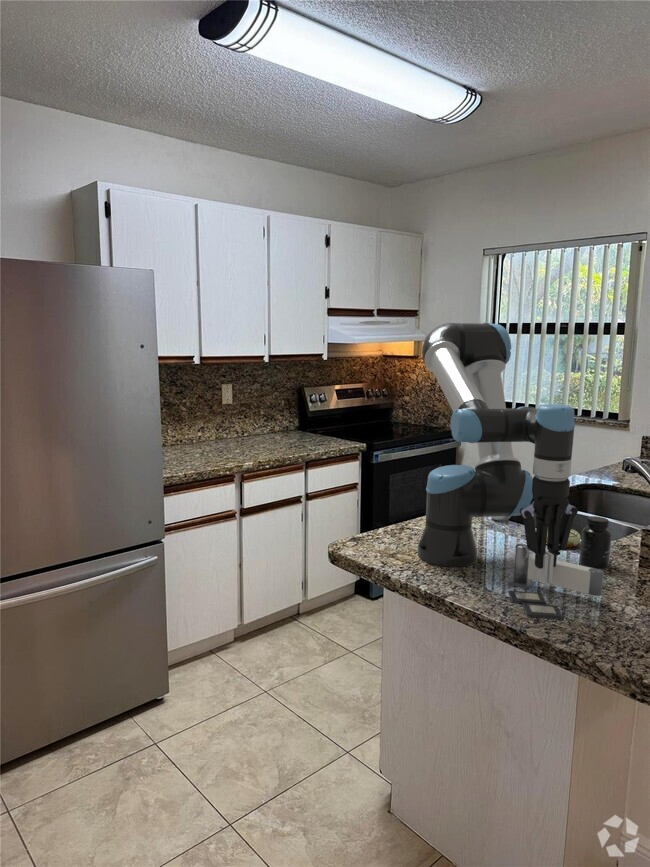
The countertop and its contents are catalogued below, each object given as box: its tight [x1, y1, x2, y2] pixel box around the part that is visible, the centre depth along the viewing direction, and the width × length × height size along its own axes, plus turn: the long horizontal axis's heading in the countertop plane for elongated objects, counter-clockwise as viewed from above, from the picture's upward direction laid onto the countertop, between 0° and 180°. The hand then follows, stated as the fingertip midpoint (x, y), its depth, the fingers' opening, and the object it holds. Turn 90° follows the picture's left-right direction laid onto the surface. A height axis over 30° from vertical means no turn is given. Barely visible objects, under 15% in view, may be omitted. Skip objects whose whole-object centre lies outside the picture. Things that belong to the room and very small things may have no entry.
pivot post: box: [506, 543, 534, 590], centre depth 140 cm, size 5×5×9 cm
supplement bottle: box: [579, 515, 613, 570], centre depth 151 cm, size 7×7×12 cm
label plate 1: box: [508, 590, 547, 605], centre depth 132 cm, size 7×5×1 cm
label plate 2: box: [522, 603, 564, 620], centre depth 126 cm, size 7×5×1 cm
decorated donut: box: [546, 528, 582, 548], centre depth 168 cm, size 10×11×4 cm
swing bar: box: [527, 554, 605, 597], centre depth 134 cm, size 16×3×5 cm, turn 54°
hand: (544, 581), depth 133 cm, fingers closed
